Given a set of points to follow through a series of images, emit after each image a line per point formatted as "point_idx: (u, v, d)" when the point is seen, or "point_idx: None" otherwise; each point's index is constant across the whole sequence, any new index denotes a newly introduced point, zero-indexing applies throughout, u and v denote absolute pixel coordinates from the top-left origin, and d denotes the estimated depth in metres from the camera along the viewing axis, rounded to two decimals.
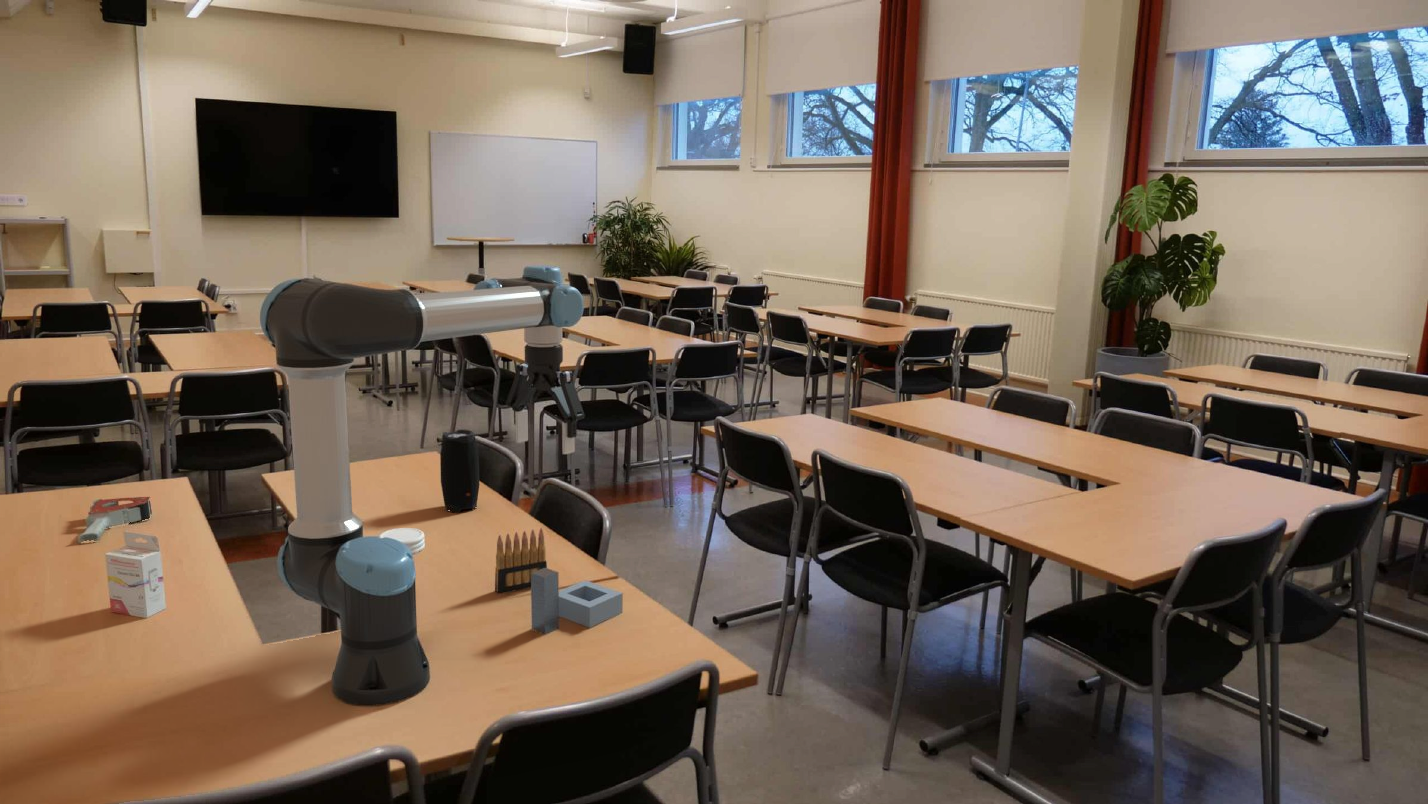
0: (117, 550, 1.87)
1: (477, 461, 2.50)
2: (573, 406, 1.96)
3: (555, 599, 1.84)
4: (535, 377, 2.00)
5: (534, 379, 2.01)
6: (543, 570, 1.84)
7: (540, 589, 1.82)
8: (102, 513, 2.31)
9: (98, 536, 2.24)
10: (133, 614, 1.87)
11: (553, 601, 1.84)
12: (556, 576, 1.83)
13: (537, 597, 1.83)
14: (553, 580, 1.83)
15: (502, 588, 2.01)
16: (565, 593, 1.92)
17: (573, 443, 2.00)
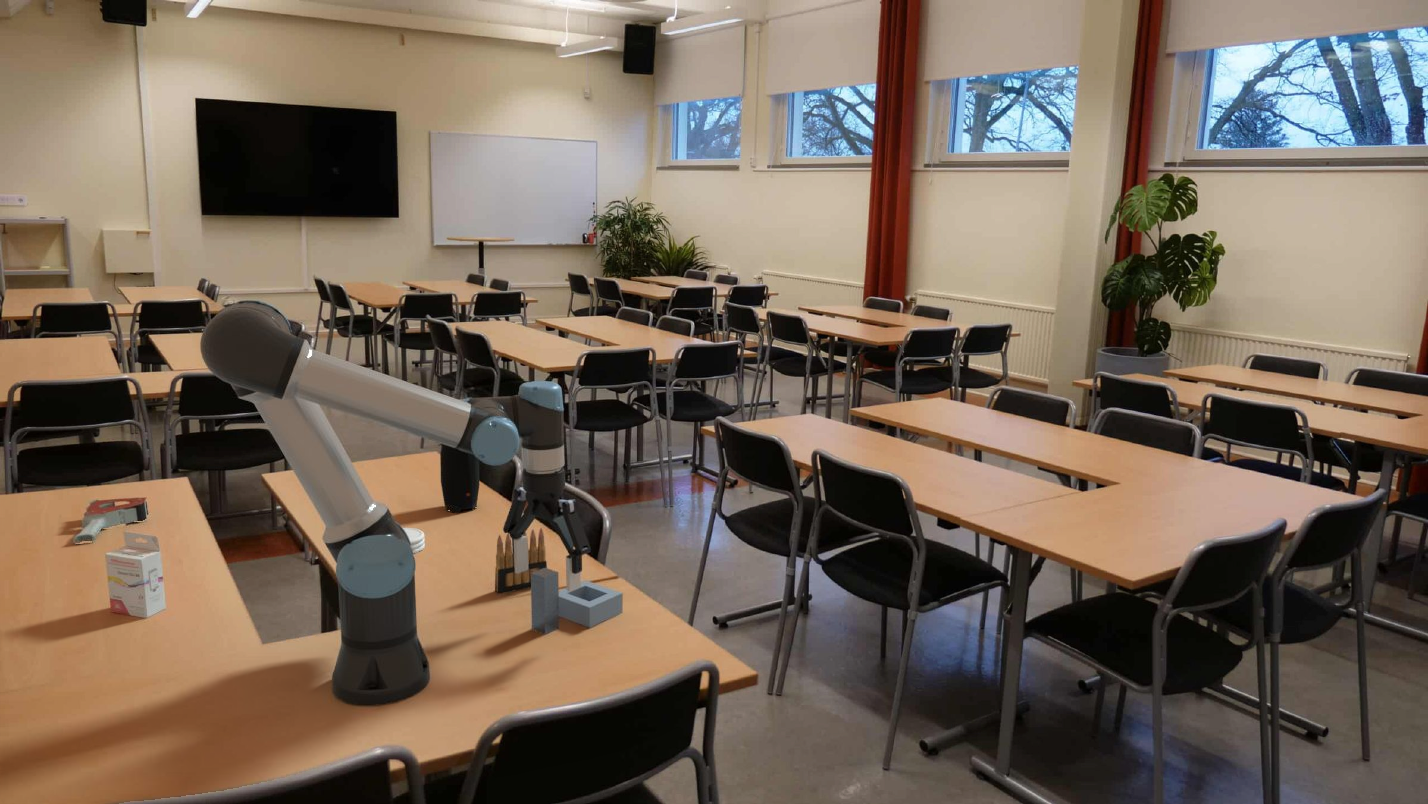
0: (117, 550, 1.87)
1: (477, 461, 2.50)
2: (578, 540, 1.75)
3: (555, 599, 1.84)
4: (535, 505, 1.80)
5: (534, 507, 1.80)
6: (543, 570, 1.84)
7: (540, 589, 1.82)
8: (98, 514, 2.30)
9: (93, 537, 2.23)
10: (133, 614, 1.87)
11: (553, 601, 1.84)
12: (556, 576, 1.83)
13: (537, 597, 1.83)
14: (553, 580, 1.83)
15: (502, 588, 2.01)
16: (565, 593, 1.92)
17: (578, 578, 1.80)
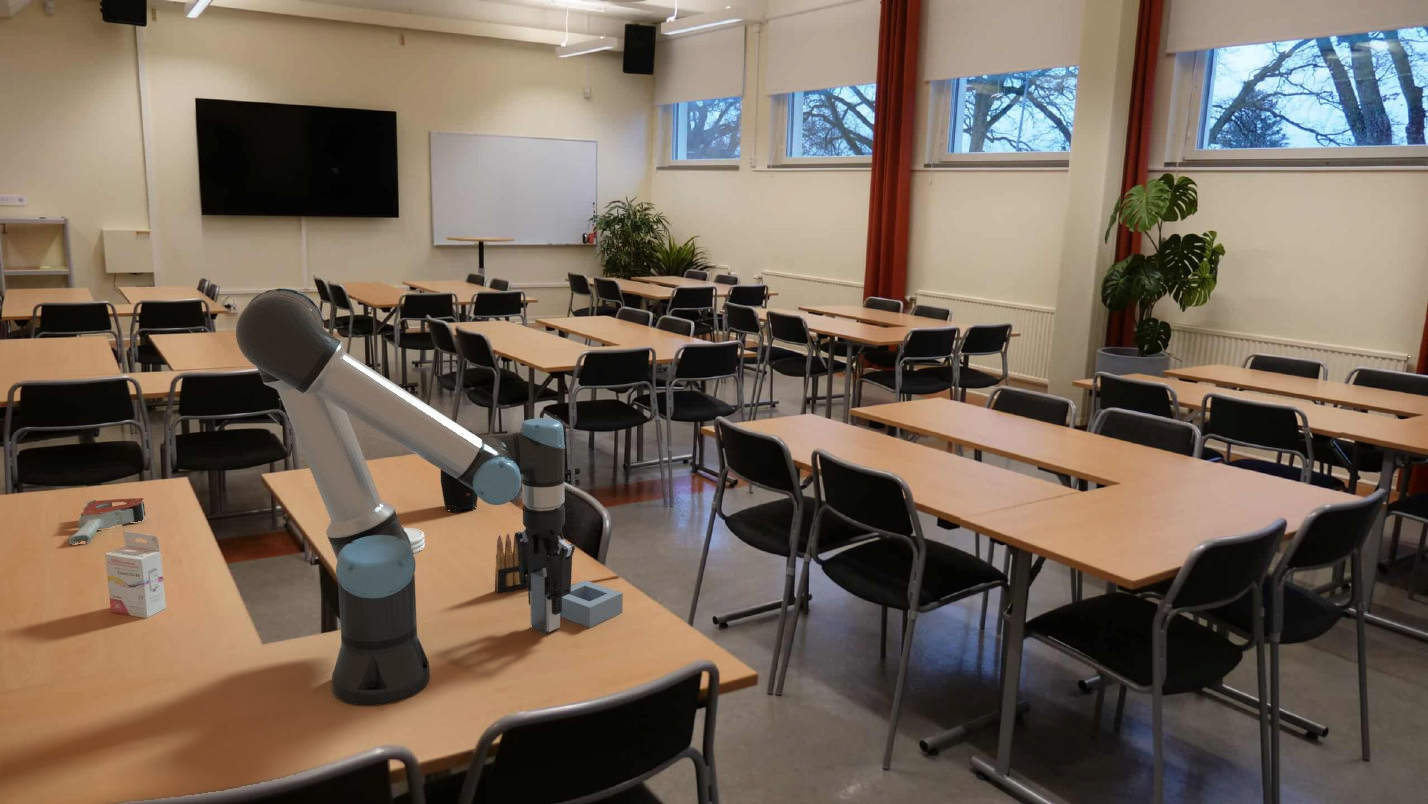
0: (117, 550, 1.87)
1: None
2: (562, 584, 1.79)
3: None
4: (535, 539, 1.81)
5: (535, 542, 1.81)
6: (543, 570, 1.84)
7: (540, 589, 1.82)
8: (94, 514, 2.30)
9: (89, 538, 2.22)
10: (133, 614, 1.87)
11: None
12: None
13: (537, 597, 1.83)
14: None
15: (502, 588, 2.01)
16: None
17: (558, 618, 1.84)
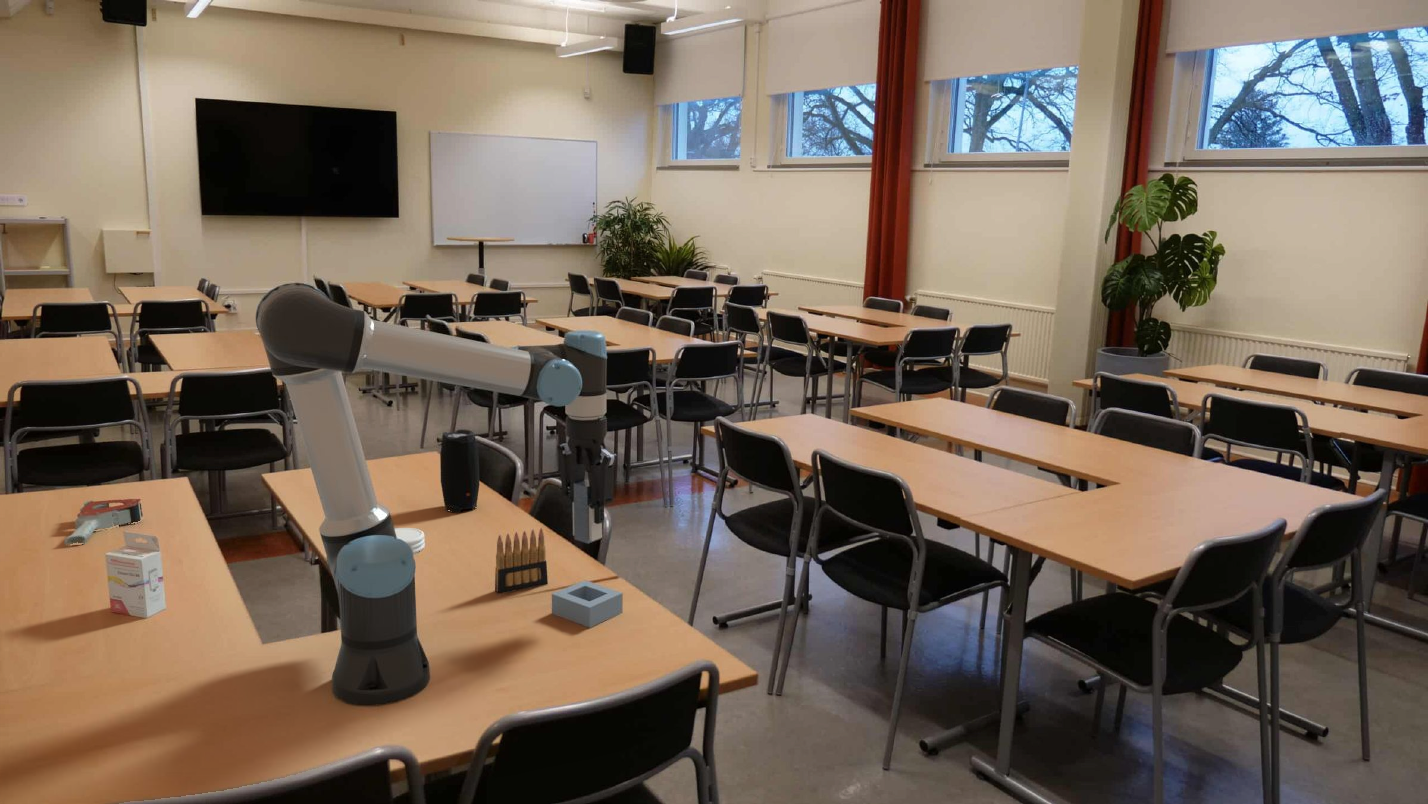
0: (117, 550, 1.87)
1: (477, 461, 2.50)
2: (605, 492, 1.83)
3: None
4: (577, 450, 1.85)
5: (577, 453, 1.85)
6: (585, 481, 1.88)
7: (583, 499, 1.86)
8: (91, 515, 2.29)
9: (85, 539, 2.22)
10: (133, 614, 1.87)
11: None
12: None
13: (580, 506, 1.87)
14: None
15: (502, 588, 2.01)
16: (565, 593, 1.92)
17: (600, 528, 1.88)
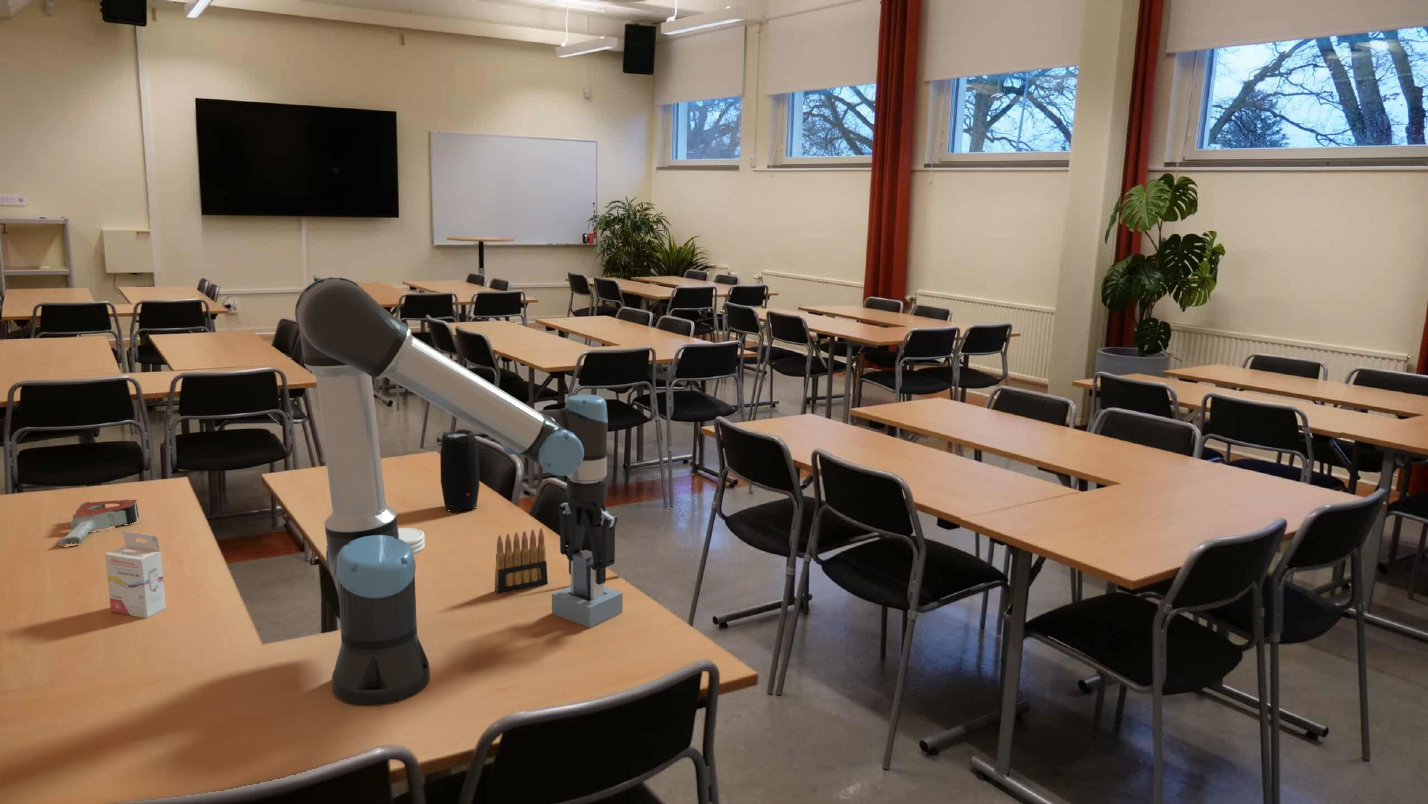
0: (117, 550, 1.87)
1: (477, 461, 2.50)
2: (606, 554, 1.86)
3: None
4: (578, 511, 1.88)
5: (578, 514, 1.88)
6: (584, 552, 1.91)
7: (582, 570, 1.89)
8: (87, 516, 2.29)
9: (80, 540, 2.21)
10: (133, 614, 1.87)
11: None
12: None
13: (579, 577, 1.90)
14: None
15: (502, 588, 2.01)
16: (565, 593, 1.92)
17: (602, 588, 1.91)
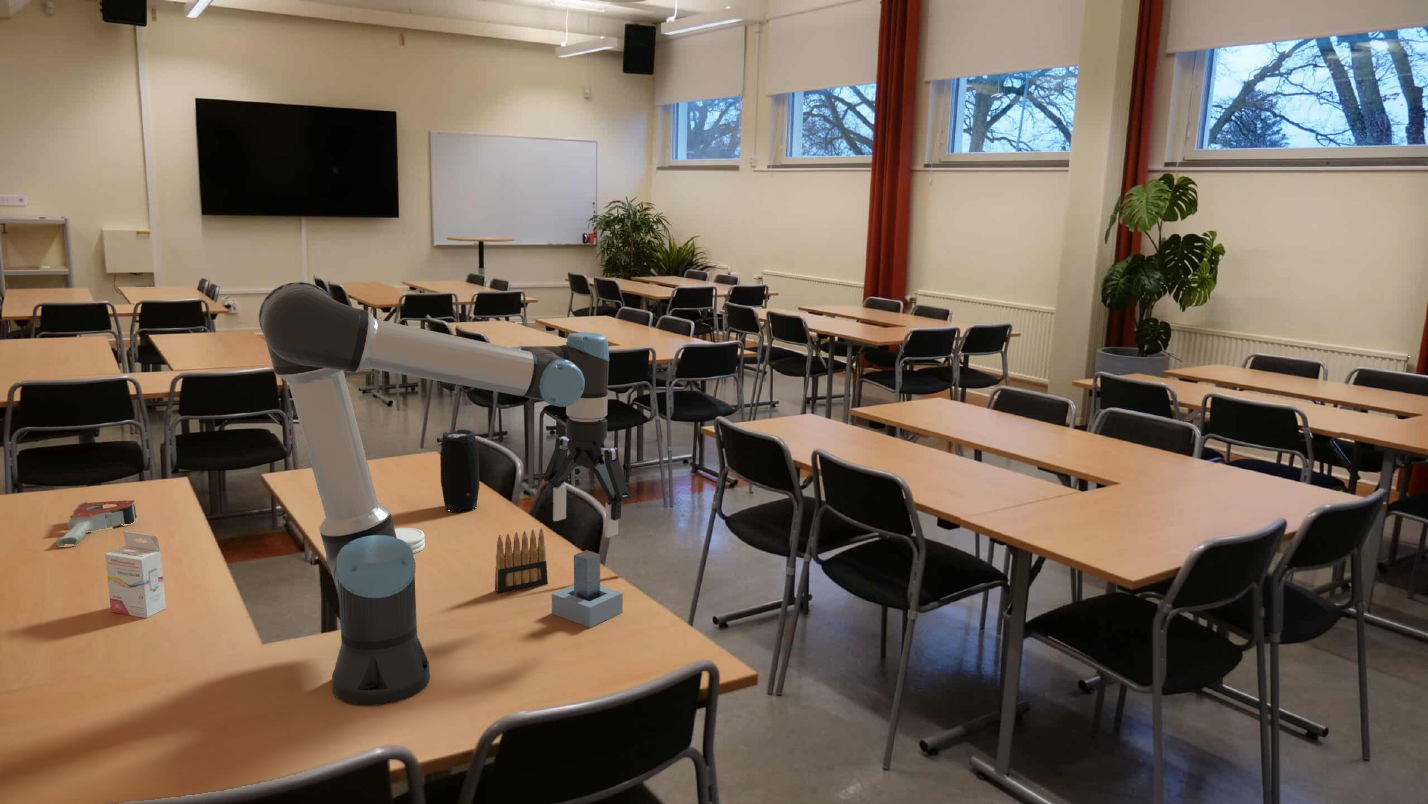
0: (117, 550, 1.87)
1: (477, 461, 2.50)
2: (618, 487, 1.81)
3: (597, 580, 1.91)
4: (577, 453, 1.85)
5: (576, 455, 1.86)
6: (585, 552, 1.91)
7: (583, 570, 1.89)
8: (84, 517, 2.28)
9: (77, 540, 2.21)
10: (133, 614, 1.87)
11: (595, 582, 1.91)
12: (598, 558, 1.90)
13: (580, 578, 1.90)
14: (595, 562, 1.90)
15: (502, 588, 2.01)
16: (565, 593, 1.92)
17: (617, 525, 1.85)
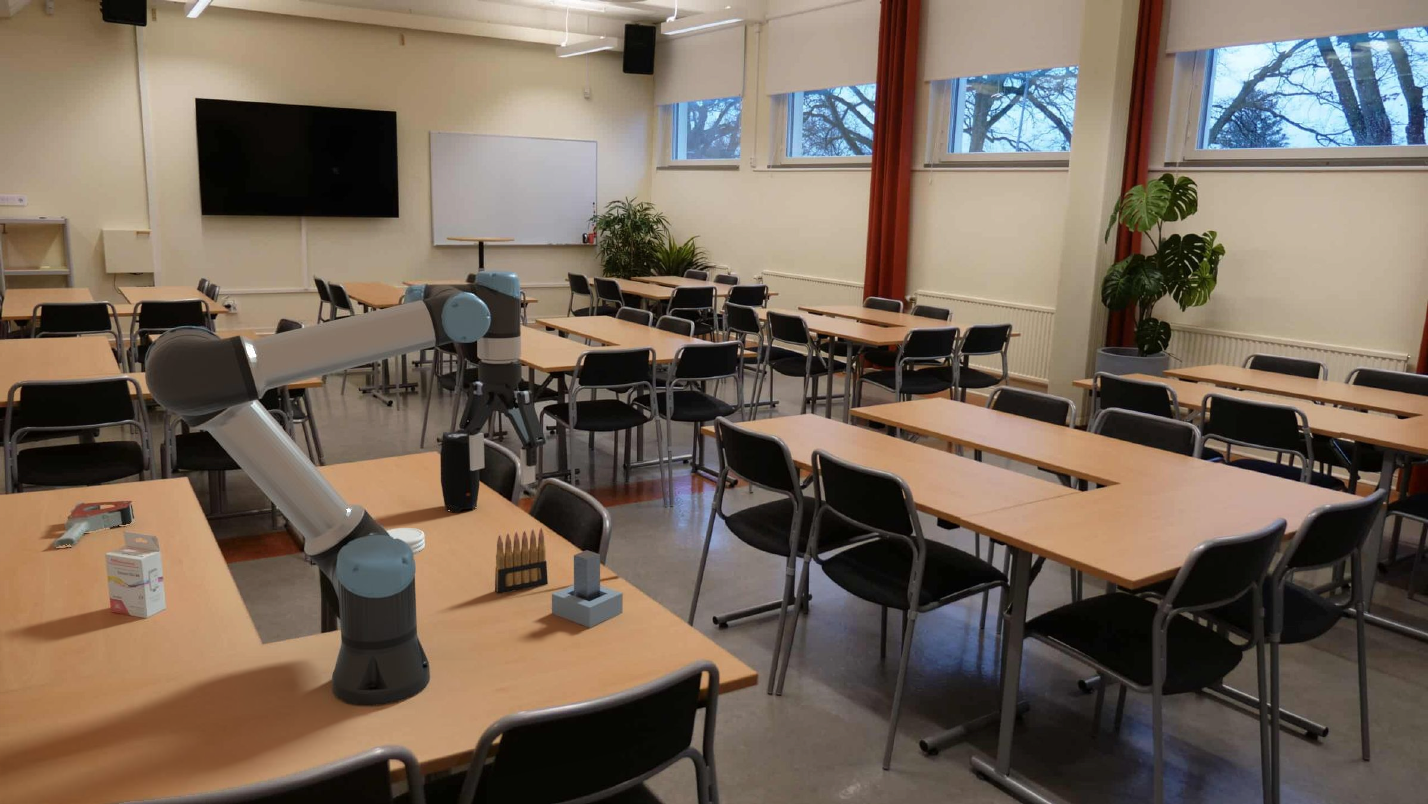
0: (117, 550, 1.87)
1: None
2: (532, 431, 1.73)
3: (597, 580, 1.91)
4: (490, 397, 1.77)
5: (489, 399, 1.77)
6: (585, 552, 1.91)
7: (583, 570, 1.89)
8: (81, 517, 2.28)
9: (74, 541, 2.20)
10: (133, 614, 1.87)
11: (595, 582, 1.91)
12: (598, 558, 1.90)
13: (580, 578, 1.90)
14: (595, 562, 1.90)
15: (502, 588, 2.01)
16: (565, 593, 1.92)
17: (533, 472, 1.77)
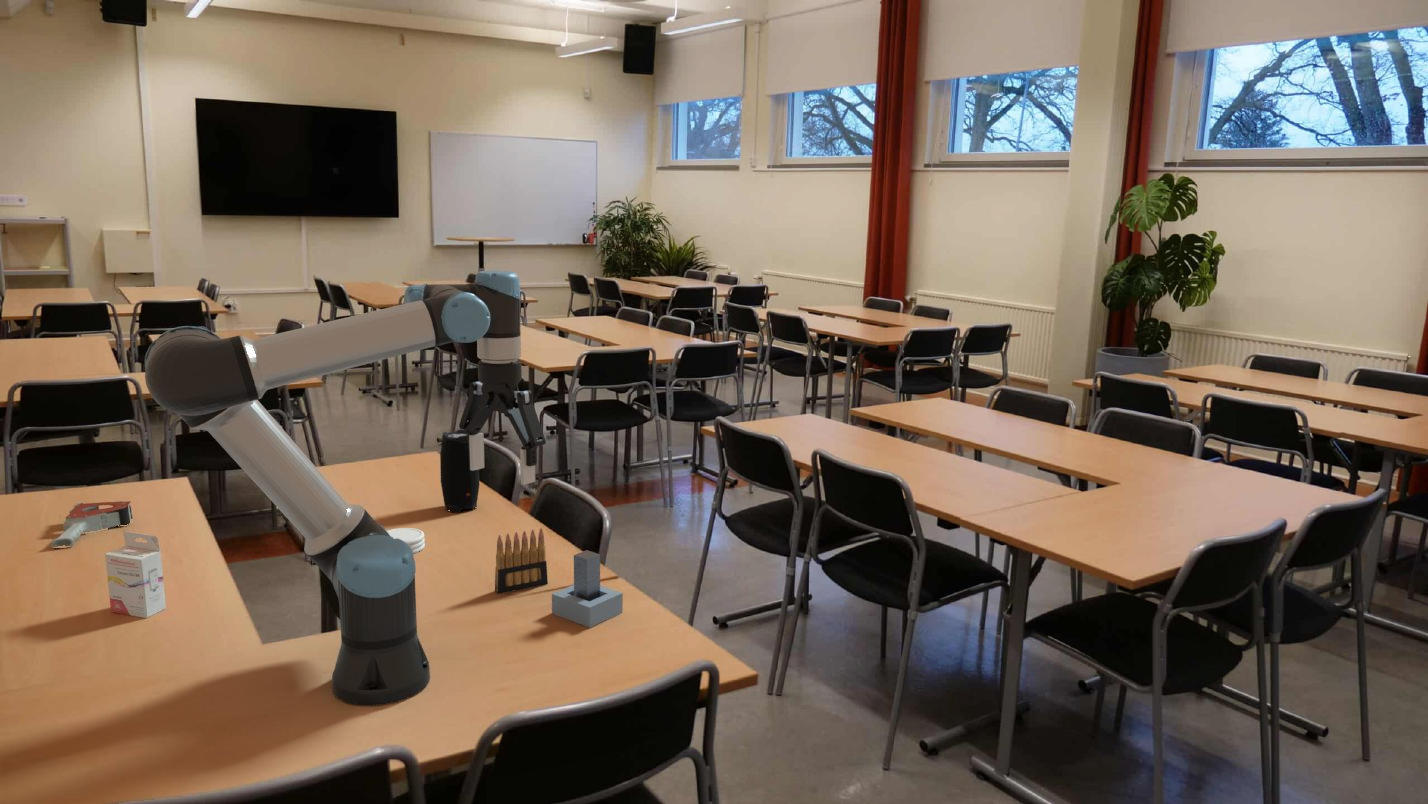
0: (117, 550, 1.87)
1: None
2: (532, 431, 1.73)
3: (597, 580, 1.91)
4: (490, 397, 1.77)
5: (489, 399, 1.77)
6: (585, 552, 1.91)
7: (583, 570, 1.89)
8: (79, 518, 2.27)
9: (72, 541, 2.20)
10: (133, 614, 1.87)
11: (595, 582, 1.91)
12: (598, 558, 1.90)
13: (580, 578, 1.90)
14: (595, 562, 1.90)
15: (502, 588, 2.01)
16: (565, 593, 1.92)
17: (533, 472, 1.77)
